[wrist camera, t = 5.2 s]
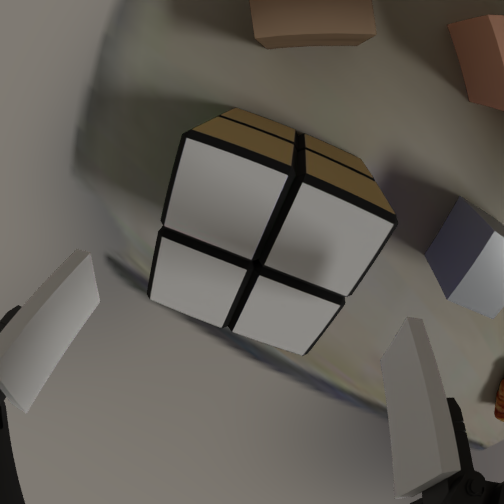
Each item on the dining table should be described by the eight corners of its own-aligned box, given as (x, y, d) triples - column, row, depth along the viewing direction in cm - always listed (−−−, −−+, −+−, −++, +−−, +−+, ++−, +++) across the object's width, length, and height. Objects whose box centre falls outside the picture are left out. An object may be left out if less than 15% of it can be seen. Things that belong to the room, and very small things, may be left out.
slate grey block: (459, 195, 20) (494, 230, 15) (502, 224, 21) (536, 261, 16) (424, 254, 24) (446, 299, 19) (468, 276, 24) (493, 319, 19)
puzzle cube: (307, 266, 26) (305, 360, 18) (194, 222, 25) (143, 301, 17) (364, 159, 21) (404, 220, 12) (232, 105, 20) (180, 128, 12)
